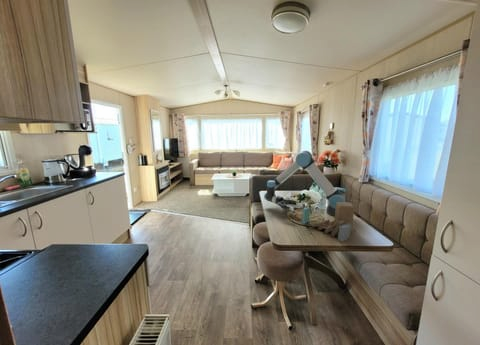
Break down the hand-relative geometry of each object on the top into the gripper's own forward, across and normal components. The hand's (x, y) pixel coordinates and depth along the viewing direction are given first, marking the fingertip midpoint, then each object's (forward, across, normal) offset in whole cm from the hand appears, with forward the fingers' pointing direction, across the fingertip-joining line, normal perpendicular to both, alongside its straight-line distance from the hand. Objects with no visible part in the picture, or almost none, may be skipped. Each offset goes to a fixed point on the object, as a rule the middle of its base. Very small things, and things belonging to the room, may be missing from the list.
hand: (298, 207), depth 169 cm
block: (+31, -12, -10) cm, 35 cm away
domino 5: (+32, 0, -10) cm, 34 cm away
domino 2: (+16, 0, -9) cm, 18 cm away
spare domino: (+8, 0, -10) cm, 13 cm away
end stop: (+39, 0, -10) cm, 40 cm away
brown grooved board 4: (+27, 0, -9) cm, 28 cm away
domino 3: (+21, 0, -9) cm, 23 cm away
